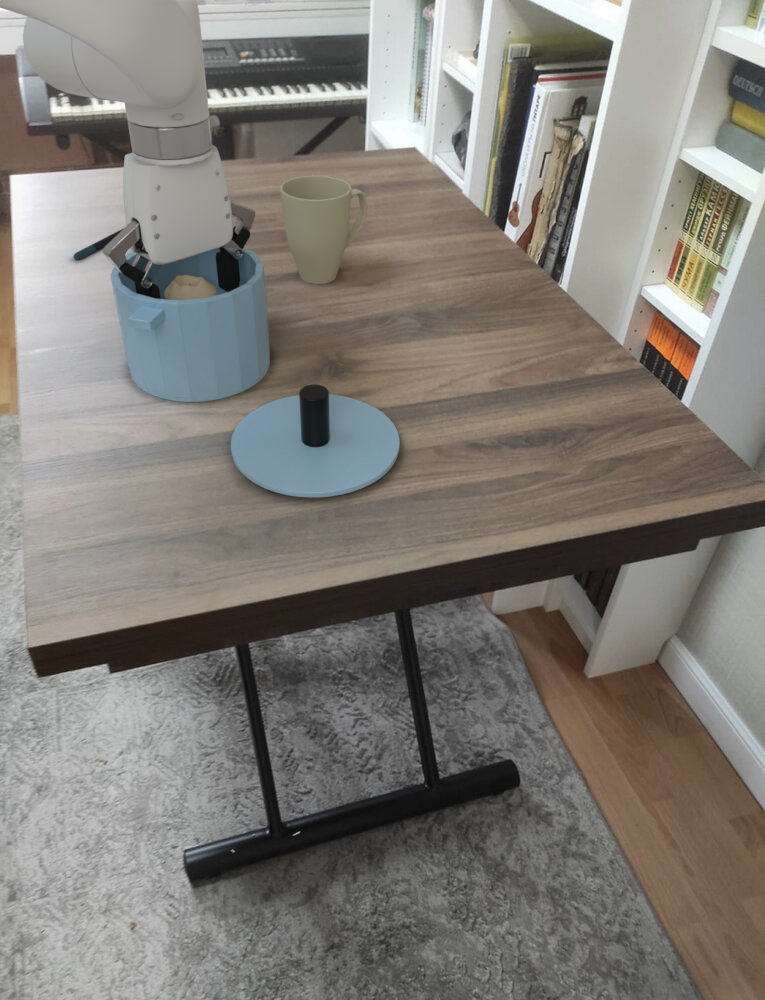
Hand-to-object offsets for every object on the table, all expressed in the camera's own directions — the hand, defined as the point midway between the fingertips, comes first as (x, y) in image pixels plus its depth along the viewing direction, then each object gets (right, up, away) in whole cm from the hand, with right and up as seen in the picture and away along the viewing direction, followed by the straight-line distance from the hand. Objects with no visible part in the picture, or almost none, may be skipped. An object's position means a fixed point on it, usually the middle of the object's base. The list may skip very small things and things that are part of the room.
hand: (192, 303), depth 90 cm
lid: (+14, -16, -7) cm, 22 cm away
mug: (+12, +10, +24) cm, 29 cm away
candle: (0, -6, +5) cm, 7 cm away
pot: (0, -6, +5) cm, 8 cm away
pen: (-18, +16, +31) cm, 39 cm away
